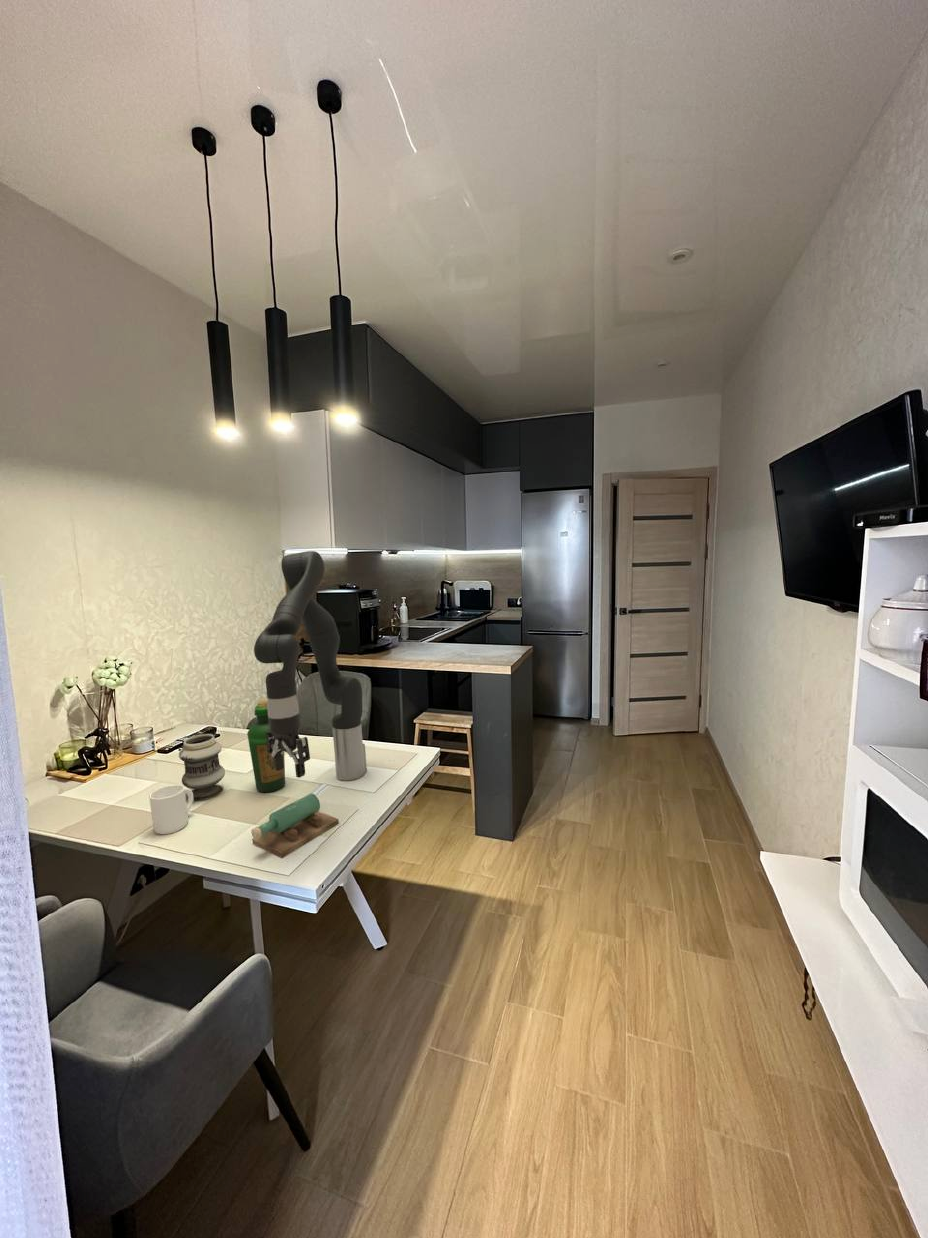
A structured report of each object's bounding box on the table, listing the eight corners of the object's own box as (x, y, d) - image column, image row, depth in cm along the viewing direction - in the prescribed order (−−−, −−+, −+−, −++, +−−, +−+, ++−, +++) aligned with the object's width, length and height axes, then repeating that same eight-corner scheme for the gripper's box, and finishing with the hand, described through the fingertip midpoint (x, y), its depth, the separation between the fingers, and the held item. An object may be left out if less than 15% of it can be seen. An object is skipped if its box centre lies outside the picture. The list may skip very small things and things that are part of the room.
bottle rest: (310, 812, 142) (308, 800, 141) (338, 823, 135) (337, 810, 134) (252, 843, 127) (251, 830, 126) (281, 858, 120) (280, 844, 120)
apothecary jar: (177, 804, 149) (170, 747, 147) (192, 786, 161) (186, 733, 159) (219, 800, 151) (213, 743, 149) (231, 782, 163) (226, 729, 161)
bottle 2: (308, 809, 137) (306, 791, 136) (320, 814, 134) (319, 795, 133) (249, 841, 122) (247, 821, 122) (262, 847, 119) (260, 827, 119)
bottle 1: (276, 796, 152) (268, 707, 149) (245, 794, 154) (236, 707, 151) (295, 780, 162) (287, 697, 159) (265, 779, 165) (257, 696, 161)
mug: (184, 811, 146) (180, 777, 144) (206, 814, 143) (202, 780, 142) (146, 833, 134) (141, 797, 133) (169, 837, 132) (165, 800, 130)
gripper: (314, 712, 125) (320, 773, 127) (279, 704, 133) (285, 762, 135) (289, 721, 119) (295, 785, 121) (253, 712, 127) (260, 773, 129)
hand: (290, 773), depth 128 cm, fingers open, 8 cm apart
